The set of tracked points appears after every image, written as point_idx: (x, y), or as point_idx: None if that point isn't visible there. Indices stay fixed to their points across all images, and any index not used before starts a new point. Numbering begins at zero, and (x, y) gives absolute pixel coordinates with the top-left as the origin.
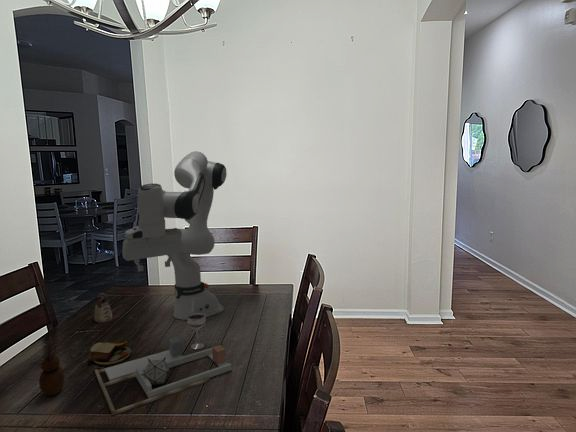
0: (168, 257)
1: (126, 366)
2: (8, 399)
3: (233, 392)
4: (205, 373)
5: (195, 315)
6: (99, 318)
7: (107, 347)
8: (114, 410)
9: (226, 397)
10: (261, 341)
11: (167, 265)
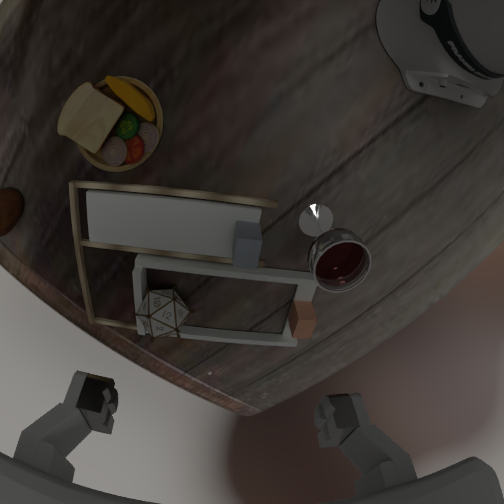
0: (383, 451)
1: (126, 213)
2: None
3: (255, 373)
4: (243, 343)
5: (354, 238)
6: None
7: (98, 121)
8: (92, 323)
9: (240, 375)
10: (406, 292)
11: (323, 424)
